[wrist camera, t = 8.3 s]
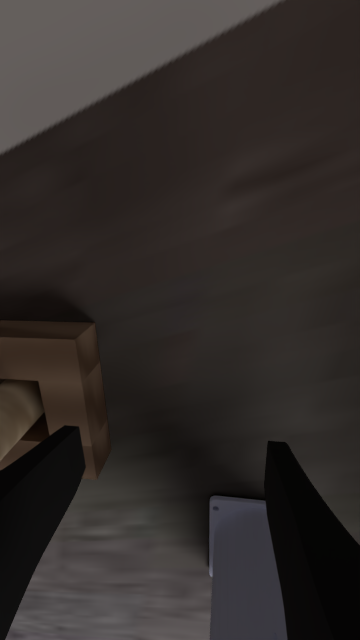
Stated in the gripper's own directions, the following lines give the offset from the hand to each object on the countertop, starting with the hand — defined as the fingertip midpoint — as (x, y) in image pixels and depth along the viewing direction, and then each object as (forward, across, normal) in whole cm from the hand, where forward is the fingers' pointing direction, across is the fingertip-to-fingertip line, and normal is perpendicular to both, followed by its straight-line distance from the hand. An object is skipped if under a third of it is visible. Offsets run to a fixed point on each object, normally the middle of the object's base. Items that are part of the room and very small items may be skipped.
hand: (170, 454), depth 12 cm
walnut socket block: (+10, +12, +4) cm, 16 cm away
